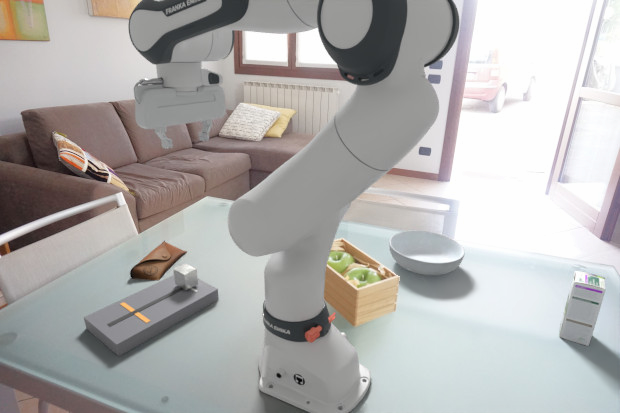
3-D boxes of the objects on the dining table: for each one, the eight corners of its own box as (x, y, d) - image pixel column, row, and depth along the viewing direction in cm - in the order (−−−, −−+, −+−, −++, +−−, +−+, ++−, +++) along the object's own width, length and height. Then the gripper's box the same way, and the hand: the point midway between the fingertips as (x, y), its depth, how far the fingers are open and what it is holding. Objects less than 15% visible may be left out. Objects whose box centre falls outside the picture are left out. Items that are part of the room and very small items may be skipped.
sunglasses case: (159, 281, 109) (144, 261, 108) (140, 290, 112) (125, 271, 110) (188, 250, 126) (176, 232, 124) (171, 259, 128) (159, 241, 127)
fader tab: (198, 284, 102) (196, 268, 101) (186, 290, 100) (184, 274, 98) (187, 278, 105) (185, 263, 103) (175, 284, 102) (173, 268, 100)
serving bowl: (461, 291, 107) (465, 268, 105) (382, 276, 114) (384, 255, 111) (461, 255, 126) (464, 235, 123) (392, 245, 132) (394, 225, 129)
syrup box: (589, 347, 88) (608, 289, 83) (557, 337, 91) (574, 280, 85) (589, 332, 92) (607, 277, 87) (559, 323, 95) (574, 269, 90)
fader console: (218, 299, 102) (217, 288, 101) (119, 356, 83) (116, 344, 82) (184, 280, 110) (183, 270, 109) (86, 328, 91) (83, 316, 90)
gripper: (142, 80, 73) (151, 155, 79) (228, 75, 89) (231, 138, 94) (123, 78, 77) (133, 150, 82) (209, 73, 92) (213, 134, 97)
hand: (186, 144), depth 88 cm, fingers open, 8 cm apart
